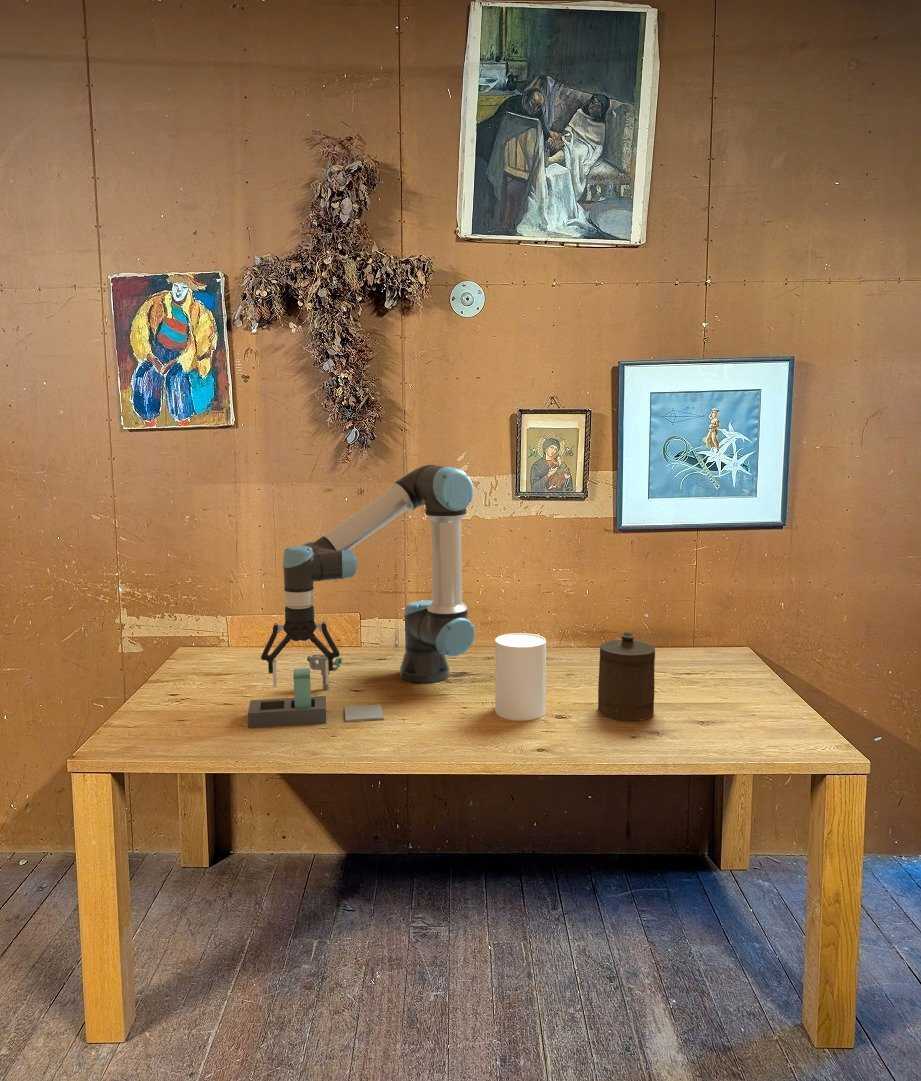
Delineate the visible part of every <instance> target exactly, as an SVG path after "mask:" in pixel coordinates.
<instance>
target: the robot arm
mask: <svg viewBox="0 0 921 1081" xmlns="http://www.w3.org/2000/svg"><path fill="white" fill-rule="evenodd" d="M474 489H475V488H474V484H473V482H472V479H471V478H470V476H469V475H468V473H466V472H465V471H464V470H462V469H460V468H456V467H453V466H447V465H446V466H445V465H436V464H426V465H422V466H419V467H417V468H415V469H413V470H411V471H410V472H408V473H407V474H405V475H404V476H402V477H401V478H399V479H398V480H396V481H395V482H393V483H392V484H391V486H390V490H388V491H387V492H385V493H384V494H382V495H381V496H379V497H378V498H377V499H374V500H373V501H372V502H371V503H369V504H368V505H366V506H365V507H363V508H362V509H360V510H359V511H357V512H356V513H355V514H353V515H352V516H350V517H349V518H347V519H345V521H343V522H341V523H340V524H339V525H337V526H336V527H334V528H333V529H332V530H330V531H329V532H327V533H326V534H324V535H323V536H321V537H319V538H318V539H316V540H315V541H313V542H312V541H309V542H305V543H303V544H301V545H291V546H288V547H286V548H285V549H284V551H283V556H282V557H283V558H282V559H283V560H282V561H283V563H282V569H283V584H284V585H283V586H284V587H283V588H284V589H283V597H284V605H285V607H284V624H278V623H277V622H274V623H273V626H272V633H271V635H270V636H269V639H268V640H267V643H266V645H265V647H264V649H263V652H262V653H261V656H260V660H262V661H266V662H267V663H268V664H267V665H268V674H272V678H273V680H272V683H273V685H272V686H273V687H275V688H276V687H277V684H278V681H277V680H278V677H277V676H278V675H277V673H278V672H277V659H276V658H277V657H278V655H279V654H280V653H281V652H282V650H283V649H284V648H285V647H286V646H287V645H288V644H289V643H290V641H291V640H292V641H294V642H299V641H302V642H304V641H305V642H306V641H308V640H310V642H312V643H313V644H314V645H315V647H316V648H318V649H319V650H320V652H321V653H322V655H325V656H326V657H325V664H326V684H328V685H329V684H330V682H329V681H330V680H329V679H330V678H329V676H330V675H329V673H330V672H333V671H332V670H333V667H334V665H333V661H334V659H335V658H337V657H340V651H339V649H338V647H337V645H336V643H335V641H334V639H333V637H332V636H331V634H330V632H329V630H328V627H327V622H326V621H322V622H319V623H316V622H315V606H314V599H315V598H314V597H315V596H314V593H315V592H314V591H315V590H314V589H315V588H314V587H315V586H314V582H322V581H329V580H330V581H333V580H341V579H342V580H344V579H347V578H348V579H349V578H353V577H354V576H355V575H356V573H357V571H358V570H357V569H358V560H357V557H356V555H355V552H354V551H352V549H353V548H354V547H357V545H359V544H360V543H362V542H363V541H365V540H366V539H367V538H369V537H370V536H371V535H373V534H375V533H376V532H377V531H379V530H381V529H382V528H383V527H385V526H387V525H388V524H389V523H390V522H392V521H393V520H395V519H396V518H398V517H399V516H401V515H402V514H404V513H405V512H409V513H411V512H413V511H414V510H415V509H417V508H419V507H422V506H424V507H425V509H424V510H425V517H427V518H428V519H429V520H430V532H431V533H430V538H431V540H430V541H431V546H430V547H431V582H432V583H431V590H432V591H431V592H432V593H431V594H432V595H431V596H432V597H431V598H432V599H431V600H430V599H429V600H418V601H412V602H409V603H407V604H406V605H405V608H404V615H403V617H404V648H405V649H404V650H405V651H404V655H403V658H402V660H401V664H400V668H399V677H400V678H401V679H402V680H405V681H407V682H410V683H411V682H412V683H423V684H424V683H425V684H426V683H435V682H440V681H443V680H445V679H447V678H449V677H450V666H449V663H448V660H447V656H449V657H457V656H458V657H459V656H461V655H462V654H465V653H466V652H468V649H469V648H470V647H471V646H472V645H473V643H474V640H475V637H476V636H475V635H476V630H475V626H474V624H473V623H472V622H471V620H470V619H468V618H469V617H468V616H469V615H468V606H467V605H466V604H465V603H464V602H463V580H462V579H463V574H462V573H463V570H462V566H463V563H462V562H463V560H462V555H463V554H462V551H463V550H462V520H463V518H465V516H466V515H467V508H468V507H469V506H470V503H471V502H472V501H473V498H474V493H475V492H474ZM317 629H318V630H319V632H322V635H323V637H324V638H325V640H326V642H327V645H328V646H329V648H330V649H331V651H332V652H331V651H330V650H329V649H328V648H327V646H326V645H325V644H324V643H323V642H322V641H321V640H320V639H319V638H318V637H317V635H316V634H315V633H314V632H315V631H316V630H317ZM282 630H283V631H284V632H285V634H286V635H285V636H284V638H282V640H281V641H280V643H278V645H277V646H276V647H275V648H274V650H272V652H271V653H270V654H269V652H270V650H271V649H272V646H273V644H274V642H275V640H276V638H277V635H278V634H280V633H281V632H282Z"/></svg>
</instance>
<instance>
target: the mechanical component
mask: <svg viewBox="0 0 921 1081" xmlns="http://www.w3.org/2000/svg"><path fill="white" fill-rule="evenodd" d="M325 657H326V656H325V655H324V654H314V653H313V654H311V655H308V656H307V658H306V661H307V662H308V663H309V667H310V670H315V671H320V675H321V676H322V690H323V691H328V690H329V687H330V686H329V684H326V664H325ZM335 658H336V659H335V660H333V670H332V671H331V672H335V671H337V670H338V669H339V668H340V667H341V666H342V664H343V658H342V657H340V656H339V657H335ZM317 661H318V662H317ZM330 674H331V673H330V672H329V676H330Z"/></svg>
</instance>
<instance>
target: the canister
mask: <svg viewBox="0 0 921 1081" xmlns="http://www.w3.org/2000/svg"><path fill="white" fill-rule="evenodd" d="M494 644H495V645H494V646H495V650H494V651H495V652H494V653H495V655H494V657H495V659H494V660H495V664H494V665H495V666H494V668H495V670H494V674H495V679H494V681H495V682H494V683H495V687H494V689H495V691H494V692H495V697H494V698H495V703H494V704H495V705H494V707H495V708H494V710H495V714H496V715H497V716H498V717H501V718H502V719H506V720H511V721H521V722H522V721H532V720H537V719H539V718H542V717H543V716H544V715H545V714H546V696H547V694H546V693H547V692H546V688H547V687H546V684H547V680H546V678H547V670H546V669H547V640H546V638H545V637H544V636H541V635H538V634H535V633H527V632H524V633H523V632H518V633H517V632H514V633H506V634H502V635H499V636H497V637H495V643H494Z"/></svg>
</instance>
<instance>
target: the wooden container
mask: <svg viewBox="0 0 921 1081" xmlns="http://www.w3.org/2000/svg"><path fill="white" fill-rule="evenodd" d="M620 637H621V639H612V640H606V641H604V642H602V643H601V644H600V646H599V662H598V663H599V665H598V666H599V667H598V668H599V669H598V685H597V686H598V687H597V698H598V699H597V703H598V705H597V709H598V710H597V711H598V713H600V714H601V716H604V717H605V718H608V719H612V720H615V721H622V722H637V721H644V720H648V719H650V718H651V717H653V715H654V712H655V691H656V690H655V688H656V686H655V669H656V668H655V667H656V666H655V664H656V663H655V659H656V648H655V646H654V645H652V644H650V643H648V642H645V641H641V640H635V638H636V637H635V635H634V633H632V632H630V631H626V632H624V633H622V634H621V636H620Z"/></svg>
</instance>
